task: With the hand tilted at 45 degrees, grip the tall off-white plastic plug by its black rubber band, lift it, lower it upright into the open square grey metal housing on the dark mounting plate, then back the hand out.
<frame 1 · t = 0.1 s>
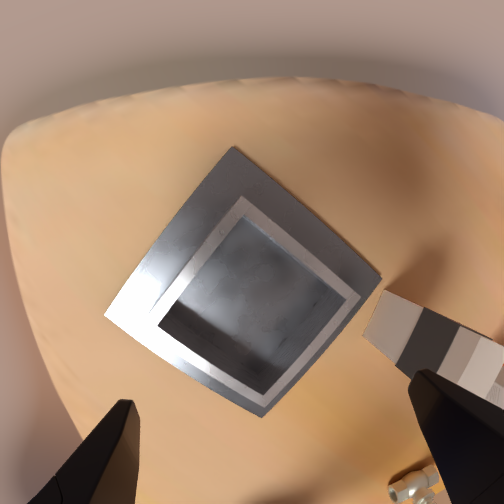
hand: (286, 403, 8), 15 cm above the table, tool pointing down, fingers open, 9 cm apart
valve: (406, 475, 30), on the table
plug: (391, 319, 26), on the table
skincare box: (483, 366, 29), on the table
housing: (247, 297, 24), on the table
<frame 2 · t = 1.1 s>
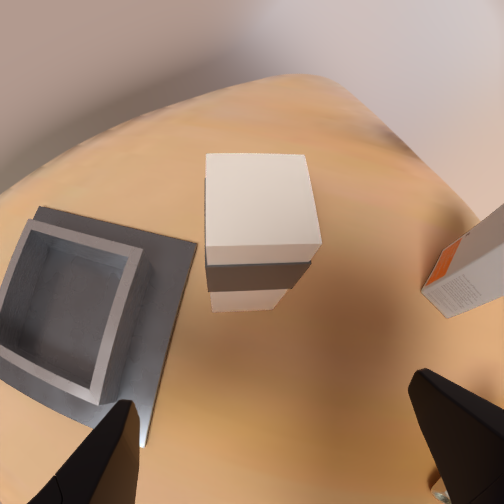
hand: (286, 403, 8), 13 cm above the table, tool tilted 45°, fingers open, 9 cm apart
valve: (451, 467, 19), on the table
plug: (240, 282, 24), on the table
skincare box: (443, 284, 26), on the table
housing: (76, 314, 21), on the table
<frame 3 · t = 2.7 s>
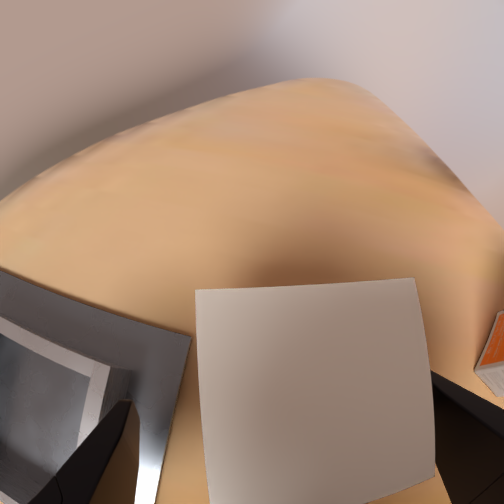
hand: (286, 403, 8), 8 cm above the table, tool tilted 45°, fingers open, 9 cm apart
plug: (255, 389, 16), on the table
skincare box: (495, 355, 18), on the table
housing: (40, 419, 13), on the table
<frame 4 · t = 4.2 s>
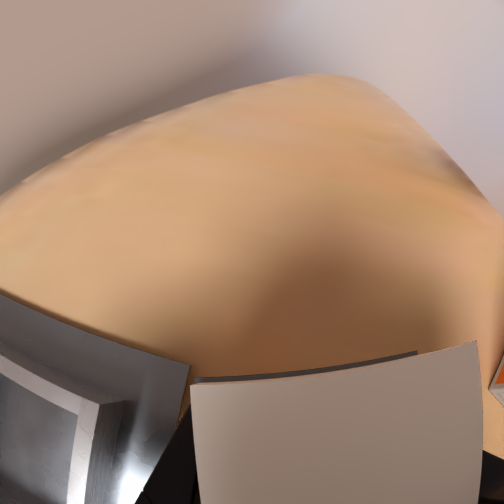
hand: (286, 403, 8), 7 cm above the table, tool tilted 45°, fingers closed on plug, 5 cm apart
plug: (261, 419, 14), on the table, touching gripper
housing: (31, 445, 11), on the table
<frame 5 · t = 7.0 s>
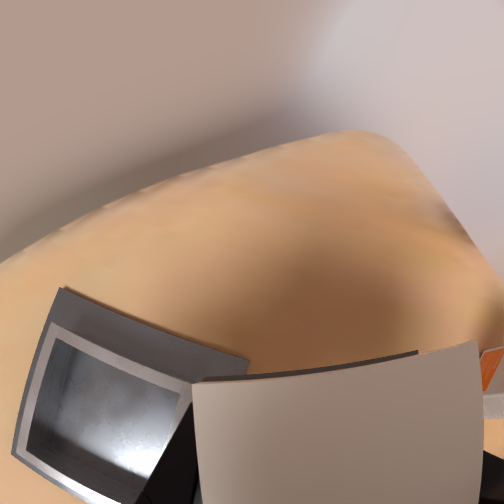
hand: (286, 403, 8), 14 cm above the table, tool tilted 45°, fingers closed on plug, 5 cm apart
plug: (261, 419, 14), point 7 cm above the table, touching gripper
skincare box: (478, 385, 22), on the table
housing: (113, 421, 18), on the table
when the fingers open (9 cm above the table, at t = 9.8 s): plug drops 1 cm, resting on housing.
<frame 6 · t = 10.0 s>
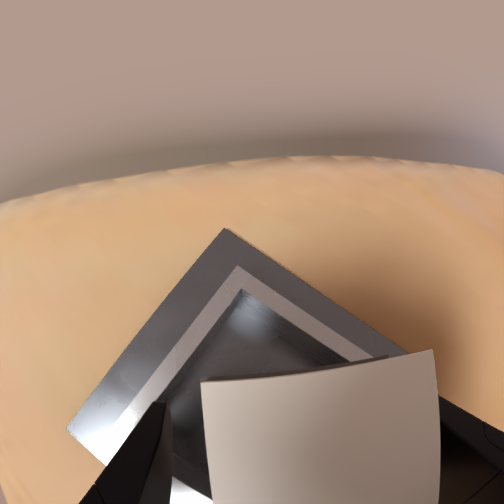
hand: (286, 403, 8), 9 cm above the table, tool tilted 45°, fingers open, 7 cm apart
plug: (257, 415, 15), point 1 cm above the table, touching housing
housing: (256, 414, 16), on the table
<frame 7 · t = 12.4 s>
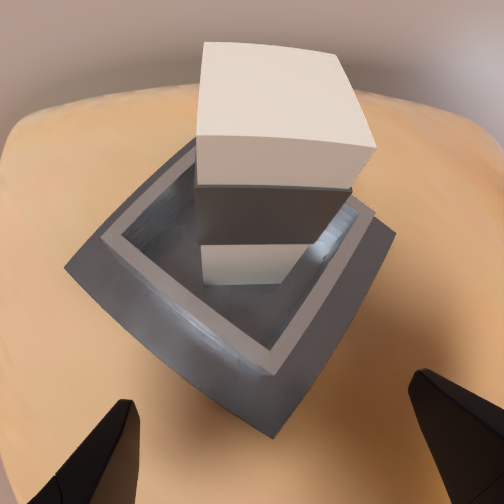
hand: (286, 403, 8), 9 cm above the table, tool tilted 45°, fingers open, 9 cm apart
plug: (240, 248, 19), point 1 cm above the table, touching housing
housing: (239, 252, 19), on the table
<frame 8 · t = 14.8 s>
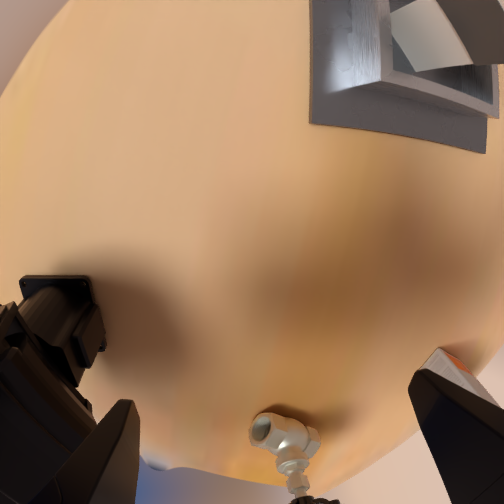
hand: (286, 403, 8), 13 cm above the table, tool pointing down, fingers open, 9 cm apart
valve: (281, 420, 28), on the table
plug: (417, 34, 15), point 1 cm above the table, touching housing
skincare box: (436, 365, 29), on the table
housing: (412, 36, 16), on the table
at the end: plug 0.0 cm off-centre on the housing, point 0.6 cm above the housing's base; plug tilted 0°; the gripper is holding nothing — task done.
